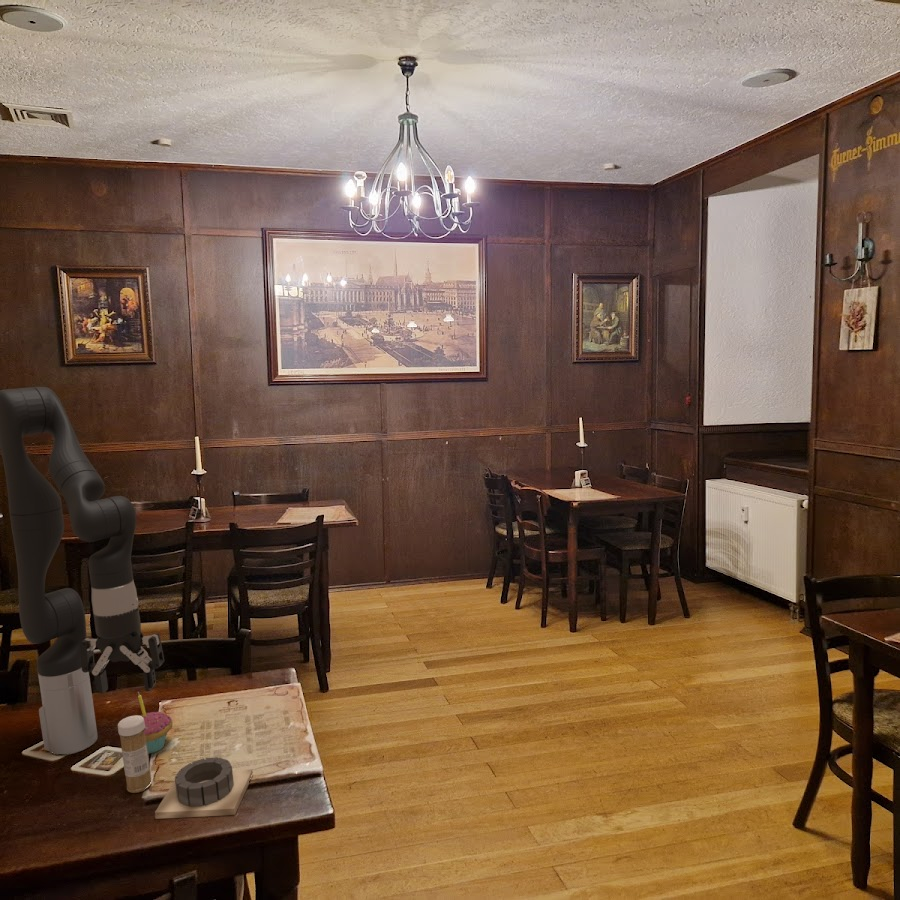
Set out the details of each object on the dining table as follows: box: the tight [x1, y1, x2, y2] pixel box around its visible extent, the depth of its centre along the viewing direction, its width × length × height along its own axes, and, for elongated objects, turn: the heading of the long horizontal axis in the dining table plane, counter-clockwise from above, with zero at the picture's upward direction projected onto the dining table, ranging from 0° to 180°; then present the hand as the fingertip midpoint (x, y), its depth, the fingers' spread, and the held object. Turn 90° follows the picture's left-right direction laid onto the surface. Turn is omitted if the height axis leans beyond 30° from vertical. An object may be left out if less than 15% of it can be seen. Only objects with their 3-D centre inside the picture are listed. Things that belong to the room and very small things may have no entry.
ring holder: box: [154, 756, 254, 820], centre depth 138 cm, size 14×12×5 cm
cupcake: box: [137, 691, 174, 755], centre depth 155 cm, size 9×8×12 cm
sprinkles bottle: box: [117, 715, 152, 794], centre depth 141 cm, size 5×5×14 cm
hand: (126, 690), depth 139 cm, fingers open, 8 cm apart
